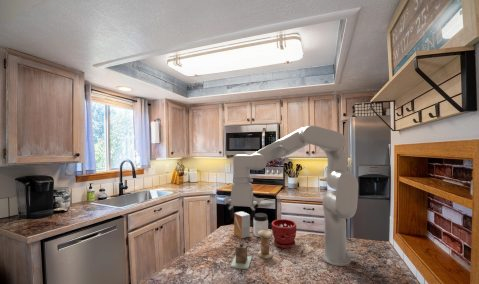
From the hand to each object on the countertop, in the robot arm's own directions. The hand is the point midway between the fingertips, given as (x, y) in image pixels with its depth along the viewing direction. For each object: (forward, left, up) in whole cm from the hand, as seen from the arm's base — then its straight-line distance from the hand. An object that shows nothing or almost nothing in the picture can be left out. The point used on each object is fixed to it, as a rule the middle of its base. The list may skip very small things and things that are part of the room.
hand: (242, 217), depth 102 cm
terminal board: (0, 0, -20) cm, 20 cm away
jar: (-5, -34, -21) cm, 40 cm away
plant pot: (-19, -23, -21) cm, 36 cm away
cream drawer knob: (-10, -9, -20) cm, 24 cm away
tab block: (0, 0, -20) cm, 20 cm away
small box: (+6, -31, -21) cm, 38 cm away
